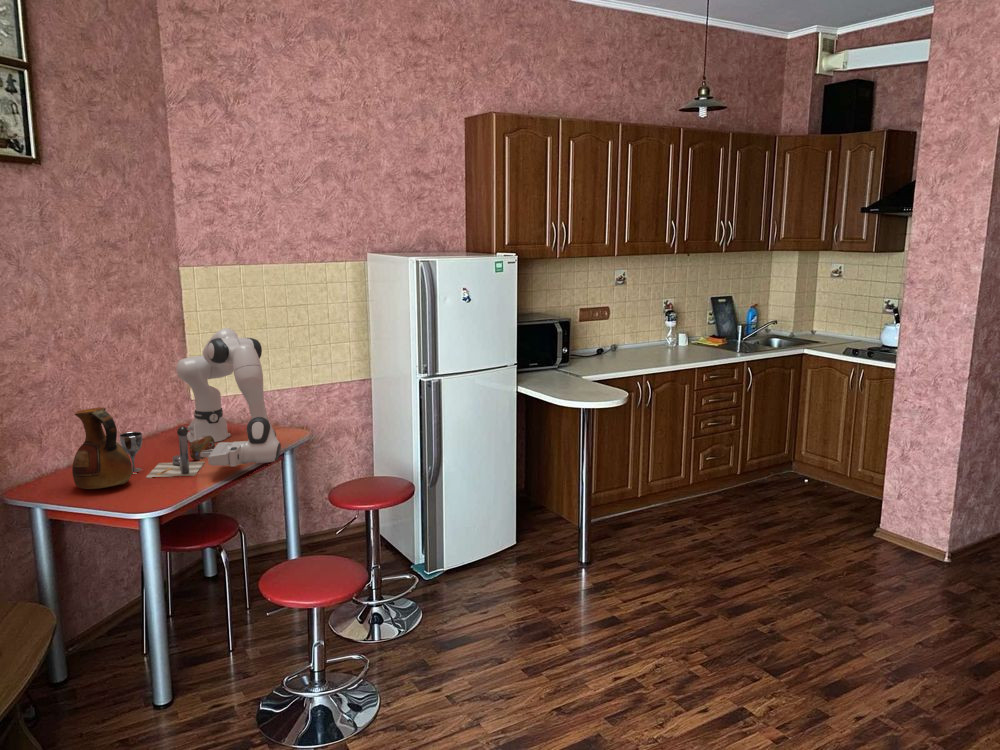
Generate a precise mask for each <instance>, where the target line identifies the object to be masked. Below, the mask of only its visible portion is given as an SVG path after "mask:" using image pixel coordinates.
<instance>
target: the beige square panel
mask: <svg viewBox="0 0 1000 750" xmlns="http://www.w3.org/2000/svg"><path fill="white" fill-rule="evenodd" d="M204 463H206V461H189V473H181V468H180V466H179V465H174V464H173V462H159V463H157V465H155V467H154V468H152V470H151V471H150V472H149V473H148V474H147V475H146V476H145V477H146V479H153V478H152V477H169V478H174V477H173V476H195V475H196V474H197V475H198V473H199V472H200V471H199V470H201V469H202V468H203V467H204V465H205V464H204ZM202 466H203V467H202ZM201 467H202V468H201ZM198 471H199V472H198ZM197 472H198V473H197ZM197 475H196V476H197ZM196 476H195V477H196Z"/></svg>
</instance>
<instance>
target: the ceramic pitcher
mask: <svg viewBox="0 0 1000 750" xmlns="http://www.w3.org/2000/svg"><path fill="white" fill-rule="evenodd" d="M73 415H74V416H76V417H77V418H78V419H79V420H80V422H81V423H82V425H83V428H84V432H85V439H84V441H83V443H82V444H81V445H80V446H79V448H78V449H77V451H76V453H75V455H74V458H73V461H72V472H71V473H72V478H73V482H74V485H75V486H76V487H77V488H80V489H84V490H85V489H86V490H96V489H98V490H99V489H105V488H110V487H115V486H118V485H119V486H120V485H123V484H126V483H127V482H128V481H129V480H130V479H131V478H132V475H133V474H132V460H131V457H130V456H129V454H128V453H126V451H125V450H124V449H123V447H122V446H121V444H120V443H118V442H117V436H118V429H117V425H116V423H115V421H114V418H113V416H112V415H110V414H109V413H108V411H106V407H103V406H102V407H93V408H85V409H82V410H81V409H80V410H78V411H75V413H74V414H73ZM103 429H104V430H103Z"/></svg>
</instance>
